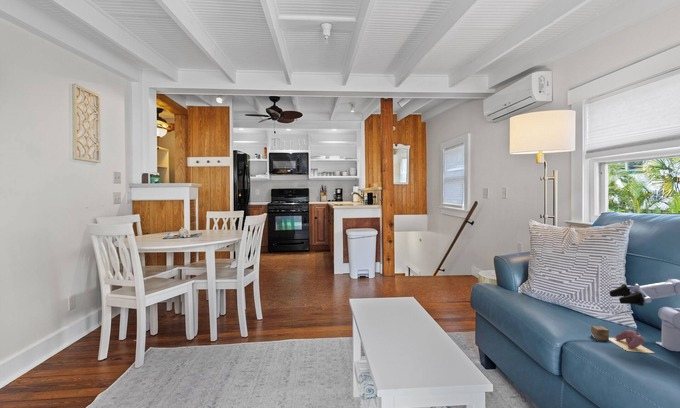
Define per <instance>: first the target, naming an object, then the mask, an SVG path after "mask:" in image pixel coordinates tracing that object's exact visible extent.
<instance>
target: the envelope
mask: <svg viewBox="0 0 680 408" xmlns="http://www.w3.org/2000/svg"><path fill="white" fill-rule="evenodd" d="M609 342H611V343H612V344H614V345H616V346H617V347H619V348H621V349H622V348H623V349H622V350H624V351H625V350H626V351H625V352H631V353H633V352H634V353H645V354H656V353H655V352H654V351H652V350H650V349H649V348H647V347H645V346H643V344H641V345H640V346H638V347H636V348H629V347H628V344H629V343H627V342H626V339H624V340H616V337H609Z"/></svg>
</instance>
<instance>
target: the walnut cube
mask: <svg viewBox="0 0 680 408" xmlns="http://www.w3.org/2000/svg"><path fill="white" fill-rule="evenodd" d="M591 332H592V334H593V335H594V337H595V338H596V340H597V341H609V338H610V330H609V329H607V328H606V327H604V326H599V325H591V326H590V333H591ZM594 337H593V338H594ZM595 338H594V339H595ZM609 342H610V341H609Z"/></svg>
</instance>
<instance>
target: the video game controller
mask: <svg viewBox="0 0 680 408" xmlns="http://www.w3.org/2000/svg"><path fill="white" fill-rule="evenodd" d="M615 338H616V340H624V339H626V342H627V343H629V344H628V347H629V348H636V347H638V346H640V345H643V344H644V342H645V338H644V336H642V335H641V334H640V333H639V332H637V331H635V330H633V329H628V328H626V329H625V330H623V331H622V332H620V333H618V334H617V335H615Z"/></svg>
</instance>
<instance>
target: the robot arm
mask: <svg viewBox="0 0 680 408" xmlns="http://www.w3.org/2000/svg"><path fill="white" fill-rule="evenodd" d="M677 295H679V296H680V279H676V278H669V279H667V280H666V281H663V282H657V283H651V284H650V283H649V284H644V285H643V284H642V285H639V284H638V283H635V284H634V285H630V284H629V285H628V284H625V283H623V284H621V285H620V286H619V287H617V288H615V289H612V290H610V291H609V296H610V297H612V298H613V297H615V298H616V297H617V298H618V297H619V298H618V300H619V304H623V305H624V304H625V305H631V304H632V305H637V306H640V307H641V306H642V307H643V306H644V305H645V304H644V303H646V304H649V303H652V302H653V301H652V300H653V299H660V298H667V297H672V296H677ZM657 316H658V318H659V319H660V320H661V341H655V344H657V345H659V346H661V347H663V348H665V349H666V350H667V351H670V352H671V351H672V352H680V307H679V308H677V307H675V308H673V307H672V306H671V307H670V306H663V307H661V308H659V310H658V312H657Z"/></svg>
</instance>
